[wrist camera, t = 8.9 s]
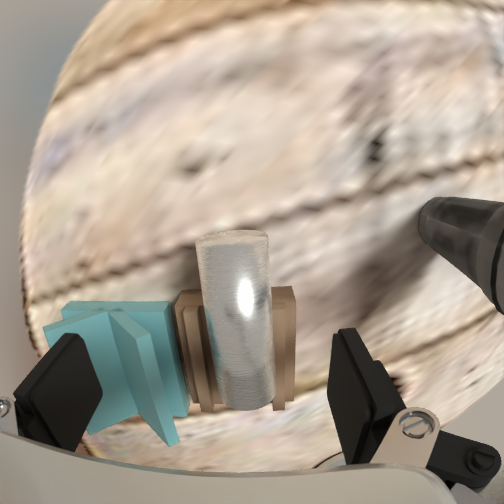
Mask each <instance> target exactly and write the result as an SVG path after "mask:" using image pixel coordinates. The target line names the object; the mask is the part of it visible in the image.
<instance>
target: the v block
mask: <svg viewBox="0 0 504 504" xmlns="http://www.w3.org/2000/svg"><path fill="white" fill-rule="evenodd" d="M61 313H62V316H63V320H62V321H59V322H56V323H53V324H50V325H47V326H44V327H43V330H44V333H45V336H46V339H47V342H48V344H49V347H50V349H51V347H52V346H53V345H54V344H55V343H56V342H57V341H58V339H59V338H60V337H61V336H62V335H63V334H64V333H77V334H79V335H80V336H81V337H82V338H83V339H84V341H85V344H86V347H87V350H88V353H89V356H90V359H91V361H92V364H93V367H94V369H95V372H96V375H97V377H98V380H99V382H100V385H101V387H102V390H103V397H102V399H101V401H100V403H99V405H98V407H97V409H96V411H95V412H94V414H93V416H92V418H91V420H90V422H89V424H88V426H87V428H86V429H87V431H88V433H89V434H90V435H91V434H93V433H96V432H98V431H100V430H103V429H105V428H107V427H109V426H112V425H114V424H116V423H118V422H121V421H123V420H125V419H127V418H129V417H131V416H134V415H136V414H138V413H139V414H140V415H141V416H142V418H143V419H144V420H145V421H146V422H147V423H148V424H149V426H150V427H151V428H152V429H153V430H154V431H155V432H156V433H157V434H158V436H159V437H160V438H161V439H162V440H163V441H164V442H165V443H166V444H167V445H168V446H169V447H171V446H172V445H174V444H176V443H178V442H180V440H179V437H178V434H177V431H176V428H175V424H174V421H173V418H172V416H180V417H187V414H188V410H189V406H190V402H189V398H188V393H187V389H186V385H185V380H184V375H183V371H182V366H181V361H180V356H179V351H178V346H177V341H176V336H175V330H174V325H173V319H172V313H171V307H170V302H95V301H70V302H69V303H68V304H67V305H66V306H64V307H63V308H62V309H61Z"/></svg>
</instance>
